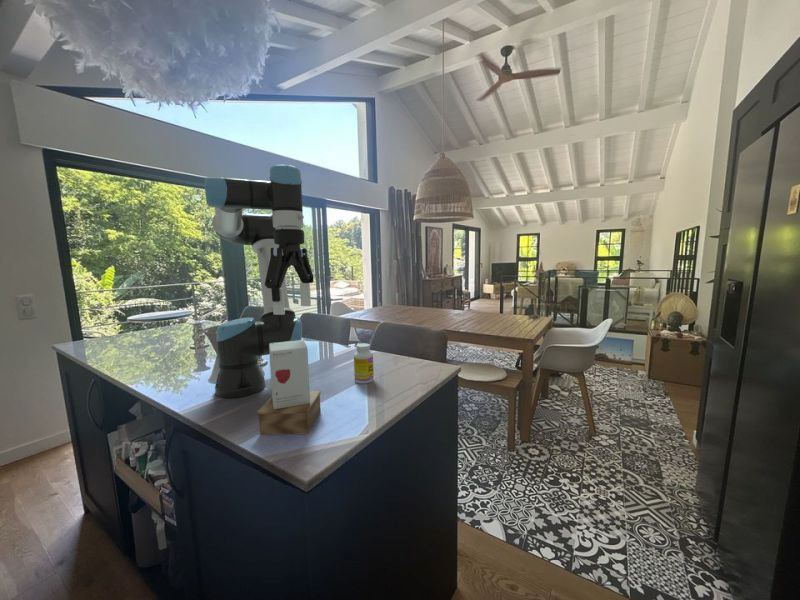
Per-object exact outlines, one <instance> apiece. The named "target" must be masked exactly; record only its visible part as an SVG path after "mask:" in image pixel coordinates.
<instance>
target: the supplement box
mask: <svg viewBox="0 0 800 600" xmlns="http://www.w3.org/2000/svg"><path fill="white" fill-rule="evenodd" d="M305 342H306V341H305V340H304V339H301V340H297V341H286V342H277V343H270V344H269V366H270V367H269V369H270V370H269V371H270V372H269V373H270V383H271V384H270V385H271V387H270V388H271V395H272V396H271V397H272V399H273V407H274V409H280V408H286V407H292V406H297V405H303V404H309V403H310V391H311V390H310V375H309V373H310V371H309V353H308V346H307V344H306V343H305Z"/></svg>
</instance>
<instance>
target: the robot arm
mask: <svg viewBox="0 0 800 600" xmlns="http://www.w3.org/2000/svg"><path fill="white" fill-rule="evenodd" d="M269 168H270V169H269V181H267V180H255V179H254V180H253V179H242V178H230V177H223V176H218V177H217V176H214V177H213V176H208V177H206V178H204V193H205V203H206V205H207V206H208V207H211V208H214V215H213V217H212V224H211V225H212V229H213V231H214V232H215V234H216V235H217V236H218V237H219V238H221V239H222V240H225V241H226V242H228V243H231V244H234V245H239V246H251V250H252V252H254V253H255V254H256V256H257V257H256V258H257V262H258V263H257V264H258V270H259V271H258V272H259V279H260V286H261V287H260V289H261V295H262V303H263V313H262V314H261V315H260V321H259V320H258V321H256V320H255V317H249V316H248V317H242V318H237V319H232V320H229V321H228V320H227V321H225V322H223V323H220V325H218V326H217V327H216V335H215V336H216V339H215V342H216V344H217V354H218V355H217V357H218V358H217V360H218V367H219V369H218V370H219V371H218V374H217V378H216V382H215V385H214V386H215V387H214V391H215V396H217V397H219V396H220V397H219V398H223V397H224V398H226V399H231V398H242V397H246V396H249V395H254V394H256V393H258V392H260V391H262V390H264V388H265V387H266V379H265V377H264V375H263V372H262V370H261V368H260V366H259V359H258V357H260V356H268V355H269V356H270V354H269V344H270V343H277V342H286V341H297V340H303V338H302V337H303V322H302V318H301V317H299V316H296V312H295V311H294V310H293V309H291V308H290V300H289V295H288V288H287V281H286V275H287V272H288V269H289V268H290V267H291V266H292V267H293V268H294V270H295V272H296V275H297V277H298V278H299V280H300V283H299V292H300V293H299V296H300V298H299V299H300V306H301V307H311V306H312V305H311V303H312V302H311V283H312V284H313V283H314V279H315V278H314V274H313V270H312V267H311V263H310V260H309V257H308V250H307V248H306V247H301V245H304V244H305V231H304V230H303V228H304V219H305V217H304V215H303V213H304V212H303V210H304V209H303V191H302V189H303V188H302V187H303V186H302V183H303V181H302V178H301V170H300V169H299V168H298V167H297V166H293V165H288V164H275V165H272V166H271V167H269ZM244 209H246V210H247V209H248V210H268V211H271V212H272V213H268V214H265V213H263V214H259V213H244Z"/></svg>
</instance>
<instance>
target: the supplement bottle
mask: <svg viewBox="0 0 800 600" xmlns="http://www.w3.org/2000/svg"><path fill="white" fill-rule="evenodd" d="M355 347H356V352H354V354H353V369H354V371H353V375H354V382H355V383H357V384H362V385H363V384H369V383H372V382H373V381H374V354H373V352H372V351H370V349H371V344H370V343H366V342H365V343H364V342H363V343H358V344H356V346H355Z"/></svg>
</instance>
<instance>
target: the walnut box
mask: <svg viewBox="0 0 800 600" xmlns="http://www.w3.org/2000/svg"><path fill="white" fill-rule="evenodd" d="M321 410H322V409H321V390H310V403H309V404H303V405H297V406H292V407H286V408H280V409H274V407H273V399H272V396H271V397H270V398H269V399H268V400H266V402H265V403H264V404H263V405H262V406H260V408H259V409H258V410H257V411H256V412H257V413H256V414H257V415H258V423H259V426H258V427H259V435H309V433H310V432H311V431H312V428H313V426H314V425H315V423H316V421H317V420H318V417H319V416H320V414H321V412H322V411H321Z"/></svg>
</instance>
